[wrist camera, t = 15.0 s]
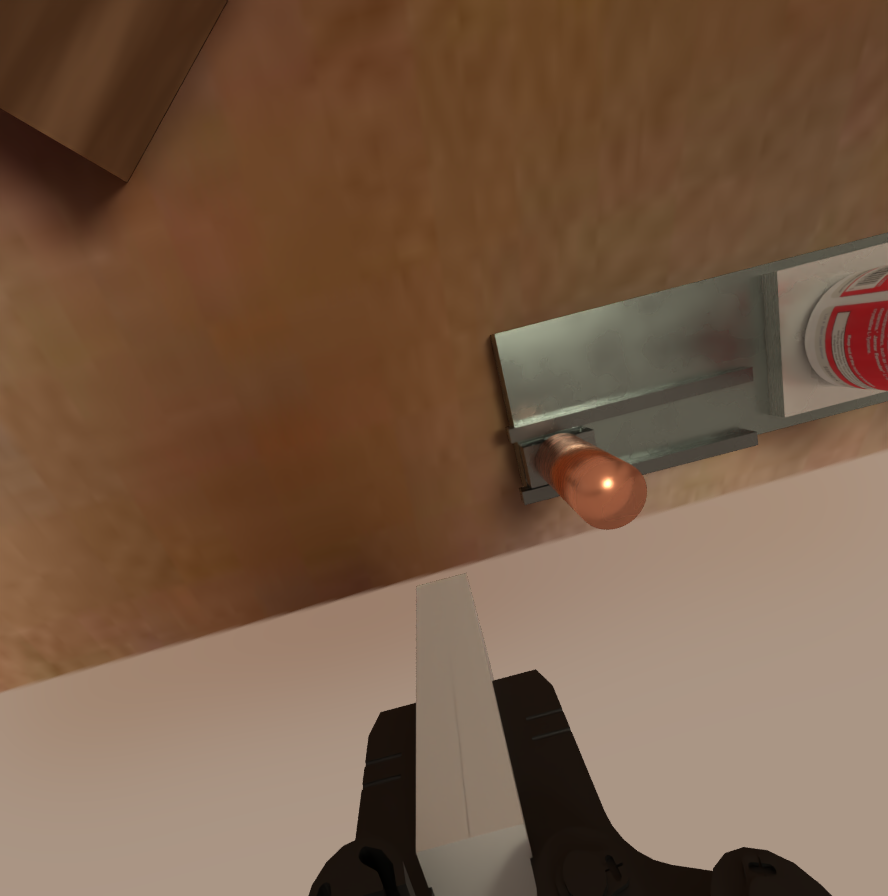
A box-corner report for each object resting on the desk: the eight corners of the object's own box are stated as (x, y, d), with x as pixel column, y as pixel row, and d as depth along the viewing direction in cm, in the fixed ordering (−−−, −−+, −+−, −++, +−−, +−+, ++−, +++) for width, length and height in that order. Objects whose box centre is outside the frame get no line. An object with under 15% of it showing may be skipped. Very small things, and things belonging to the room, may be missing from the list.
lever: (528, 487, 24) (570, 540, 17) (518, 439, 23) (558, 474, 17) (594, 470, 24) (662, 516, 17) (585, 421, 23) (653, 449, 17)
